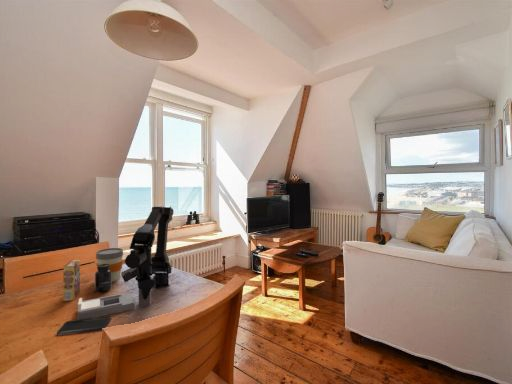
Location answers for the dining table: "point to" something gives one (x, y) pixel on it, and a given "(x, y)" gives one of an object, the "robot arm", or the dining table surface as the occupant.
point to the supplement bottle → (103, 278)
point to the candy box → (71, 280)
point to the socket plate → (109, 306)
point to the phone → (84, 325)
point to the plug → (141, 299)
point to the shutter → (88, 304)
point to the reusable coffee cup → (111, 260)
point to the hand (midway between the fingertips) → (144, 296)
